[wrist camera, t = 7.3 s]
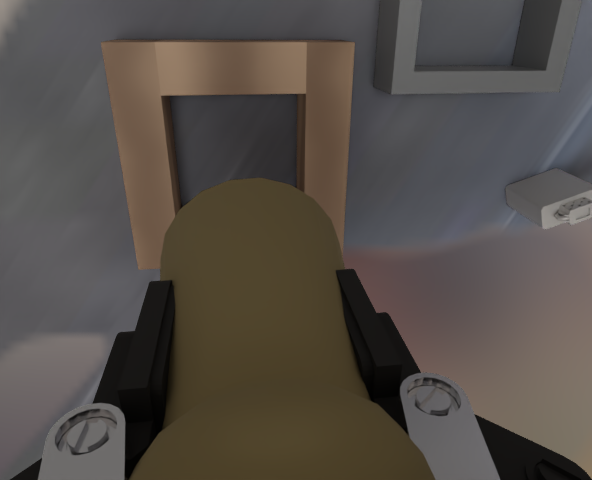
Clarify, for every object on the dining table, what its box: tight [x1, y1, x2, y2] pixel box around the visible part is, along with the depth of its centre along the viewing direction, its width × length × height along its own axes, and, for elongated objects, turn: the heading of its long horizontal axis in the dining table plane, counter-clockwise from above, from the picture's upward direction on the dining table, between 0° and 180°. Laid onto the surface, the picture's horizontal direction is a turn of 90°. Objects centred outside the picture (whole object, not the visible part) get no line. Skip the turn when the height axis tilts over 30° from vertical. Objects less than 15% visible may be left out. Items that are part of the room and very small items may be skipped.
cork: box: [129, 178, 436, 480], centre depth 10 cm, size 6×6×11 cm
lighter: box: [505, 168, 592, 229], centre depth 30 cm, size 7×2×8 cm, turn 108°
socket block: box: [101, 40, 355, 270], centre depth 28 cm, size 13×13×4 cm
